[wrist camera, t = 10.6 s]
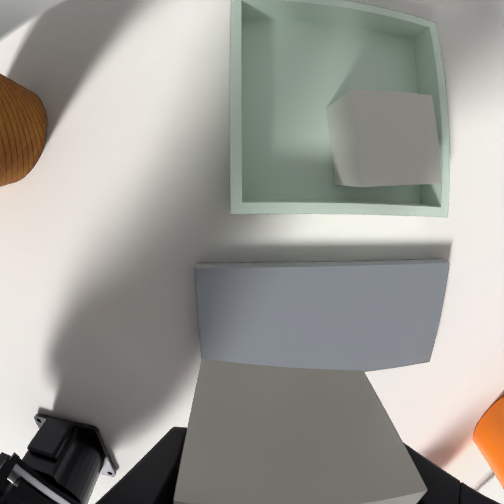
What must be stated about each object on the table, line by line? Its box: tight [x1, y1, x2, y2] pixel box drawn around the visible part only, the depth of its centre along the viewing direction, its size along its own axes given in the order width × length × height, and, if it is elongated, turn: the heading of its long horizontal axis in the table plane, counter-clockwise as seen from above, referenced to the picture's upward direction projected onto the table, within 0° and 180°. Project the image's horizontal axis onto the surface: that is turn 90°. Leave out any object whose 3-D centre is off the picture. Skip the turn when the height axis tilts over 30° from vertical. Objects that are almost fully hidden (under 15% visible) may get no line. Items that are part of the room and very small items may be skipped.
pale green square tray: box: [230, 0, 450, 217], centre depth 14 cm, size 11×11×3 cm
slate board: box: [195, 259, 449, 372], centre depth 18 cm, size 7×15×1 cm, turn 91°
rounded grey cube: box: [326, 90, 441, 187], centre depth 14 cm, size 4×4×4 cm
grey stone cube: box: [174, 358, 427, 504], centre depth 6 cm, size 4×4×4 cm
